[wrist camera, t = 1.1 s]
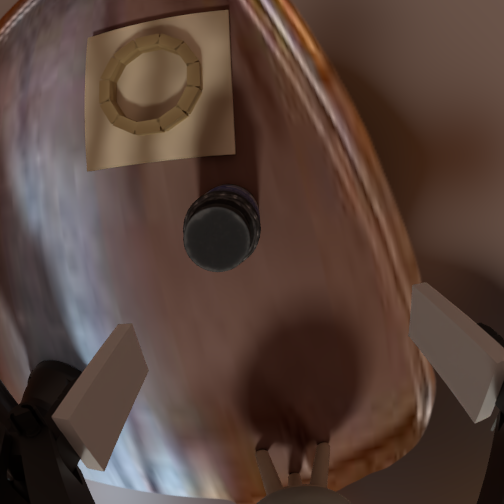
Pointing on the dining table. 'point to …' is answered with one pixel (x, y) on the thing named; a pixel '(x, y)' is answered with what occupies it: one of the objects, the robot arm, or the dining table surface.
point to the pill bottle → (222, 228)
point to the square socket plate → (160, 91)
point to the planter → (299, 482)
